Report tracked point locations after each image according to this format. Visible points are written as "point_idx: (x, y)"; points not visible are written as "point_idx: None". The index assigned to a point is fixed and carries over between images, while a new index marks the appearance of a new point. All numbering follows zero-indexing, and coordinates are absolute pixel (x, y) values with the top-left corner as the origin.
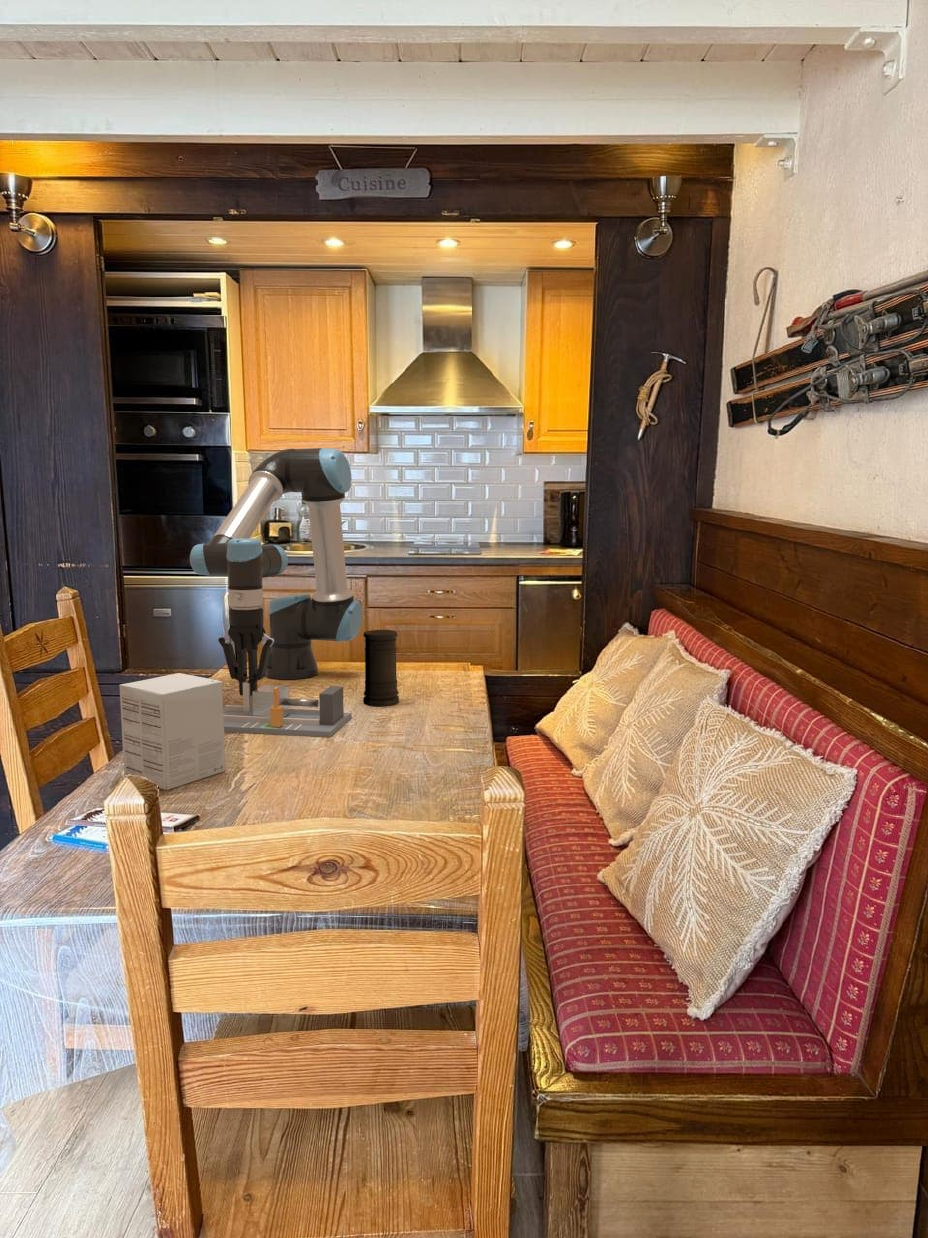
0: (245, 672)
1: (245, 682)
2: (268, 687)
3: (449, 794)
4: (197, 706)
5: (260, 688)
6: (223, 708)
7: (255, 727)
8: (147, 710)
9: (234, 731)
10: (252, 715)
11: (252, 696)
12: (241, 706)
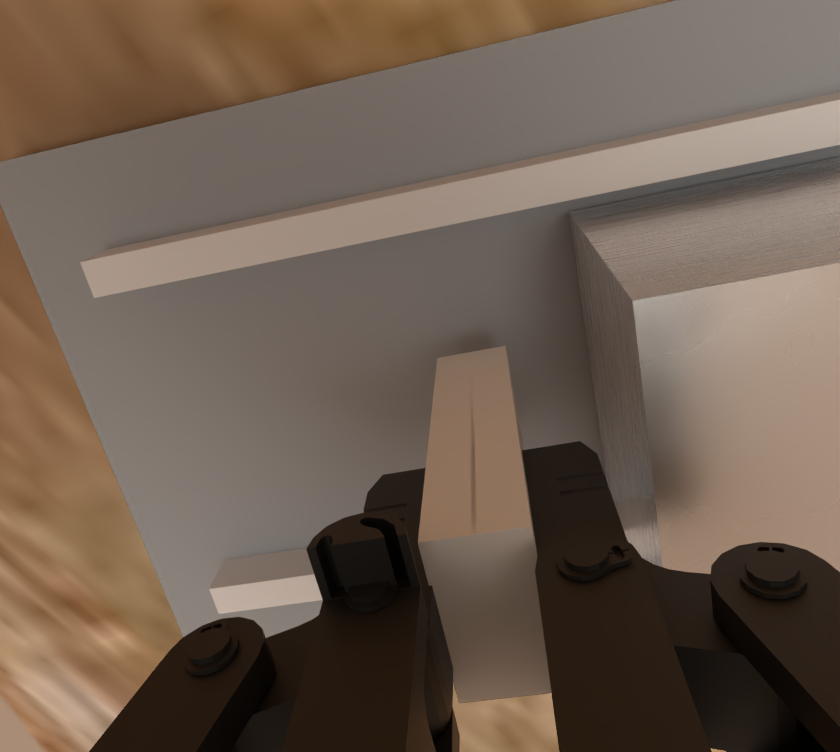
0: (430, 742)
1: (490, 679)
2: (806, 457)
3: None
4: None
5: (705, 546)
6: (34, 206)
7: None
8: None
9: None
10: (491, 338)
11: (521, 445)
12: (277, 255)
